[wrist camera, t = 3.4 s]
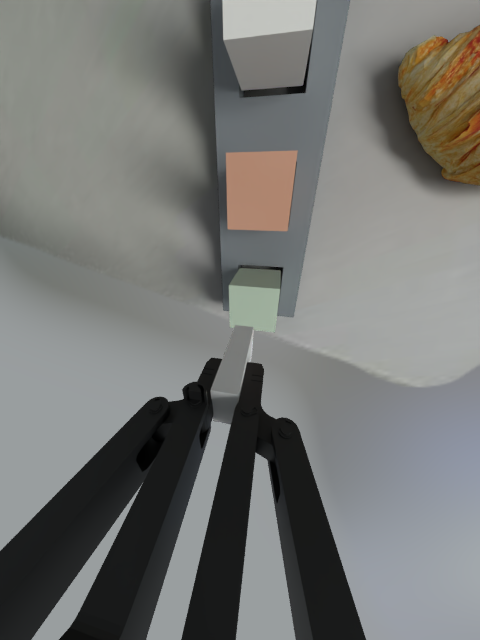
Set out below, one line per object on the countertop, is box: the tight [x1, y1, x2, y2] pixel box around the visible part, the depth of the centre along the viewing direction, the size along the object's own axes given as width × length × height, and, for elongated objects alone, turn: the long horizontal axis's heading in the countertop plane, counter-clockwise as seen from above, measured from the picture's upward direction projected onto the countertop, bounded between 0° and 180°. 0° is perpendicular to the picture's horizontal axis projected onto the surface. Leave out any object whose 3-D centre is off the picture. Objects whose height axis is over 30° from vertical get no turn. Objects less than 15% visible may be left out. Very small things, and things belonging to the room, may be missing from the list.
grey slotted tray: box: [210, 0, 350, 317], centre depth 21 cm, size 28×10×2 cm, turn 179°
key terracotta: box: [226, 151, 298, 231], centre depth 17 cm, size 5×5×6 cm
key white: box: [222, 0, 317, 91], centre depth 12 cm, size 5×5×6 cm
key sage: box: [229, 268, 281, 332], centre depth 22 cm, size 5×5×6 cm
